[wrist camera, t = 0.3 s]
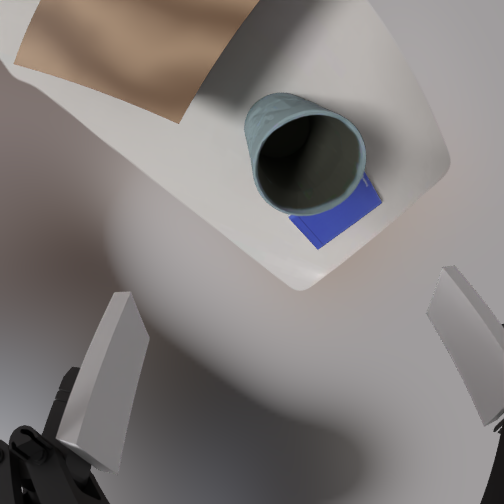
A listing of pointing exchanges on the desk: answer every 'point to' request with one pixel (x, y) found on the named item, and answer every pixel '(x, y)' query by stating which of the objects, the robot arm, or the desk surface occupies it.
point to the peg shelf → (133, 46)
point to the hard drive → (338, 215)
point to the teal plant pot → (302, 154)
